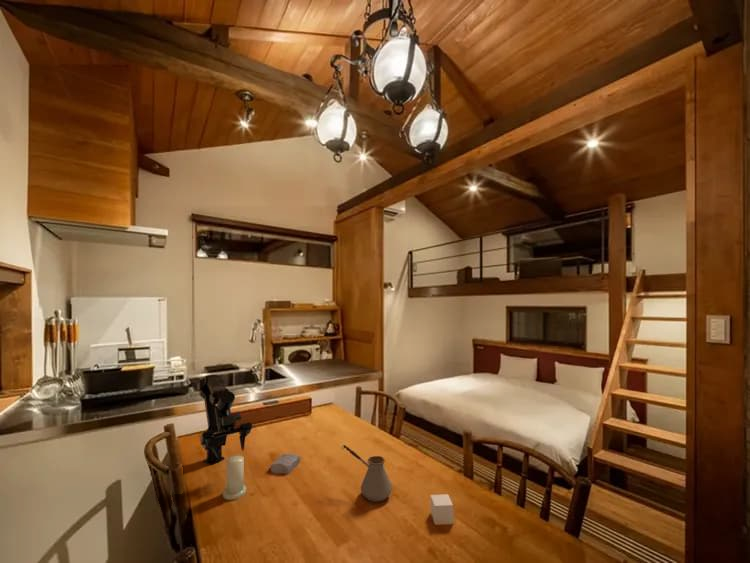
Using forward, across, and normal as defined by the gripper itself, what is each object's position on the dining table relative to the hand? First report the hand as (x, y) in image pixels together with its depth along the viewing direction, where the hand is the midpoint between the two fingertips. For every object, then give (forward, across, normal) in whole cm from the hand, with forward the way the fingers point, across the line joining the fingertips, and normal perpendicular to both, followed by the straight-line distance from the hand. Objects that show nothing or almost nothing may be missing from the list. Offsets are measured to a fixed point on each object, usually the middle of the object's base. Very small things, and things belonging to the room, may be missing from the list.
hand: (230, 453), depth 132 cm
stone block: (+8, +23, +11) cm, 26 cm away
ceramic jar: (+13, 0, +5) cm, 14 cm away
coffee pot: (+34, +39, -16) cm, 54 cm away
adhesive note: (+54, +50, -35) cm, 81 cm away
